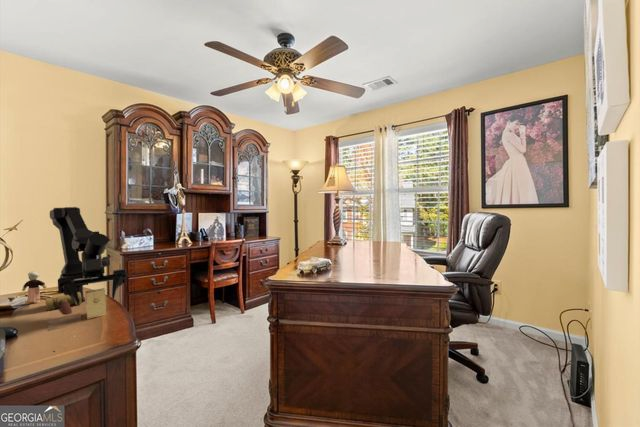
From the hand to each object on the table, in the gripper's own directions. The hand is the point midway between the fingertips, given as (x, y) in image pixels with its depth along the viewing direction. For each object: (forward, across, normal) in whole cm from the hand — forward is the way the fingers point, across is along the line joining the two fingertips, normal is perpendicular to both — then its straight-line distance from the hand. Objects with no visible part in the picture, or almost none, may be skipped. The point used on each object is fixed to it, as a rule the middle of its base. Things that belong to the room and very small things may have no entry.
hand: (96, 301), depth 98 cm
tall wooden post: (+4, 0, +6) cm, 7 cm away
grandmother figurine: (-25, -17, +35) cm, 46 cm away
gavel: (-8, -8, +18) cm, 21 cm away
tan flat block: (+3, -8, +6) cm, 11 cm away
